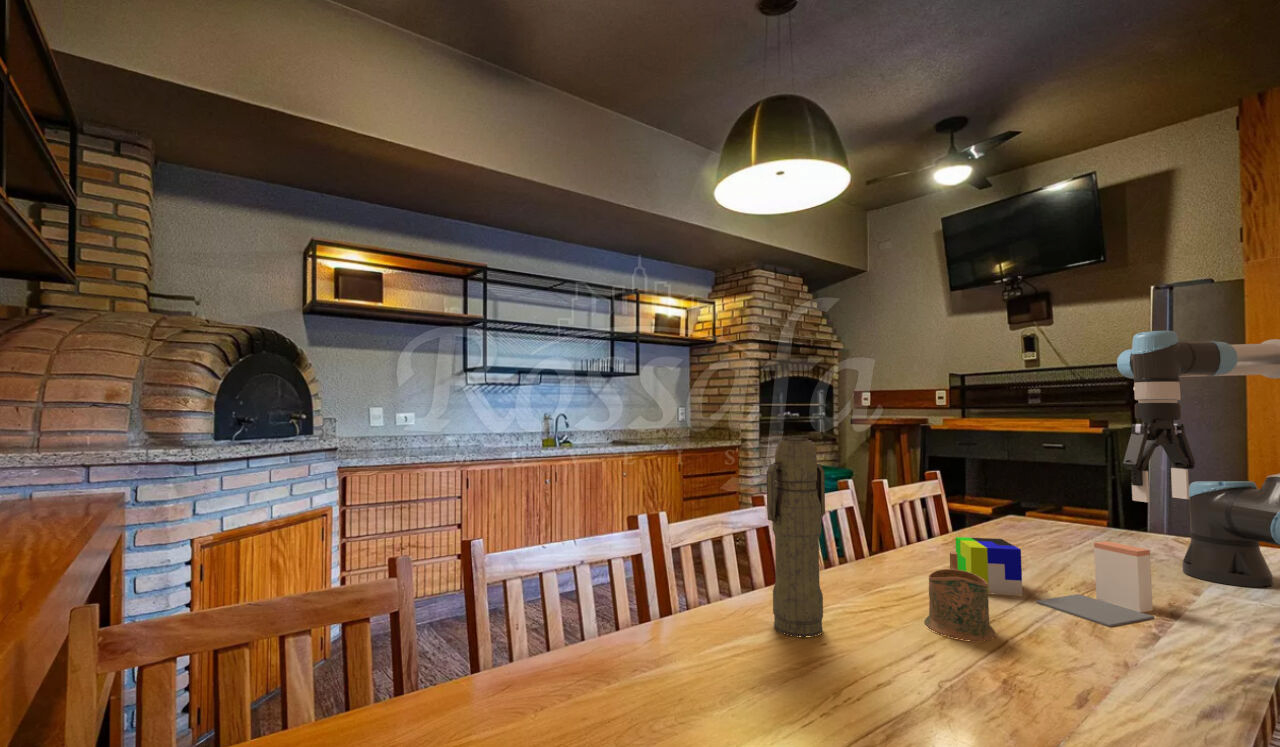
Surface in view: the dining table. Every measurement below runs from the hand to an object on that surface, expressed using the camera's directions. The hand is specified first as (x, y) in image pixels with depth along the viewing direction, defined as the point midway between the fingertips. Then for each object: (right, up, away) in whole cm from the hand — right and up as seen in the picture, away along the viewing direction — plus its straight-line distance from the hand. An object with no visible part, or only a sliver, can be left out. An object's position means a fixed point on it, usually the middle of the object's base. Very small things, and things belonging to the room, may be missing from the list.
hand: (1161, 499), depth 125 cm
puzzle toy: (-34, -21, +6) cm, 41 cm away
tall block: (-13, -21, -6) cm, 25 cm away
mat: (-22, -20, -9) cm, 31 cm away
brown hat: (-53, -20, -16) cm, 59 cm away
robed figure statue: (-84, -20, -18) cm, 88 cm away
